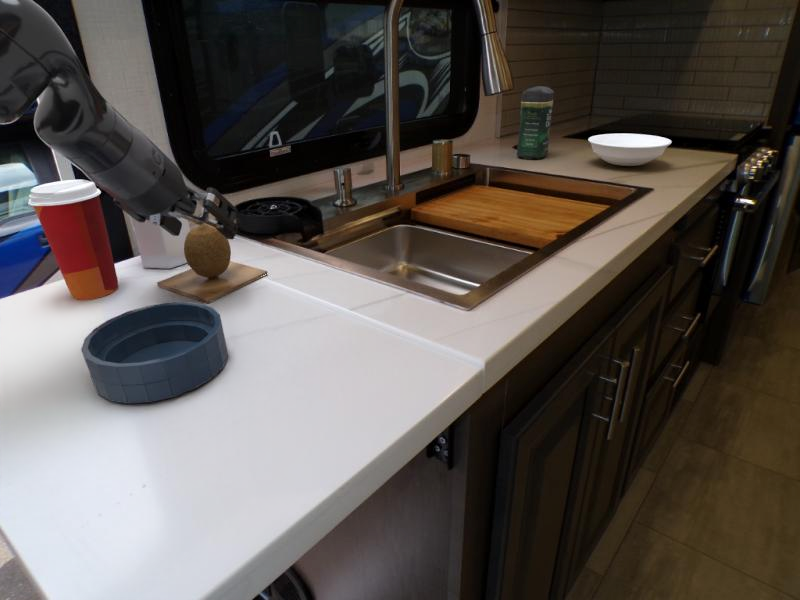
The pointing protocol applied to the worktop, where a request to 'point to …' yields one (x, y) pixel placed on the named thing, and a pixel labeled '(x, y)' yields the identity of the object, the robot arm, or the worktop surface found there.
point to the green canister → (535, 122)
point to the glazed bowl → (155, 352)
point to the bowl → (628, 148)
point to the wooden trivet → (212, 282)
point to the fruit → (207, 251)
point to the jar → (160, 244)
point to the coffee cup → (77, 236)
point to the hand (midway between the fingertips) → (205, 231)
